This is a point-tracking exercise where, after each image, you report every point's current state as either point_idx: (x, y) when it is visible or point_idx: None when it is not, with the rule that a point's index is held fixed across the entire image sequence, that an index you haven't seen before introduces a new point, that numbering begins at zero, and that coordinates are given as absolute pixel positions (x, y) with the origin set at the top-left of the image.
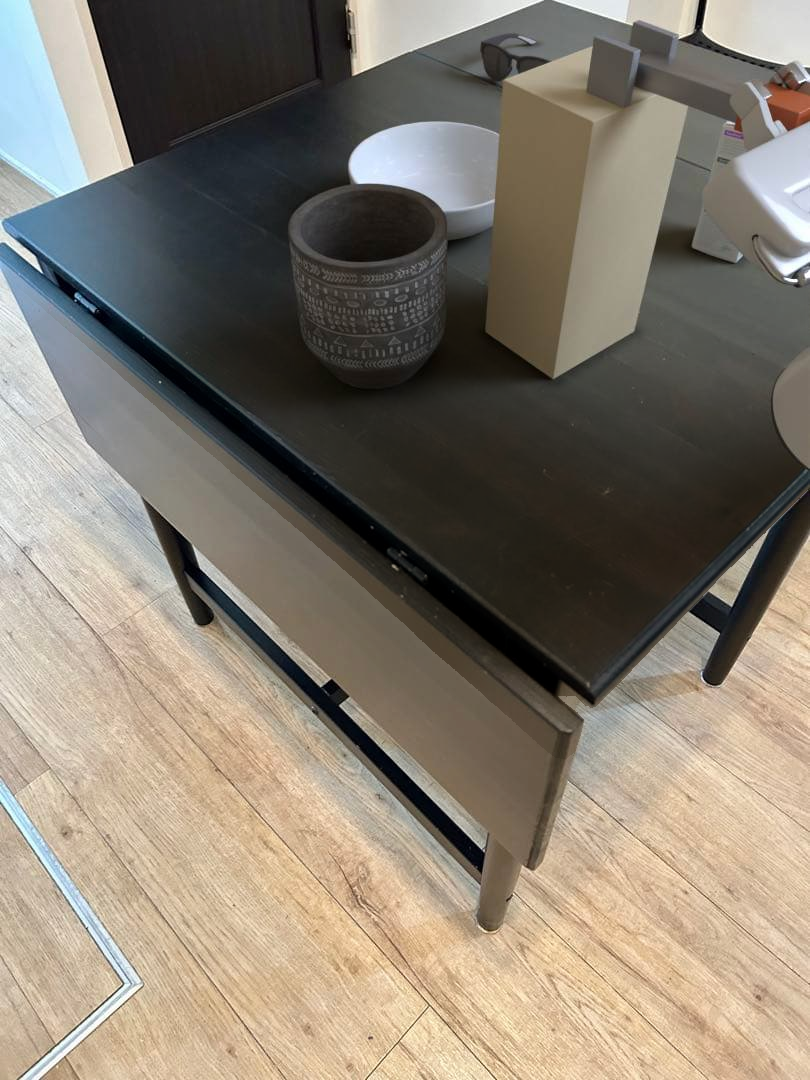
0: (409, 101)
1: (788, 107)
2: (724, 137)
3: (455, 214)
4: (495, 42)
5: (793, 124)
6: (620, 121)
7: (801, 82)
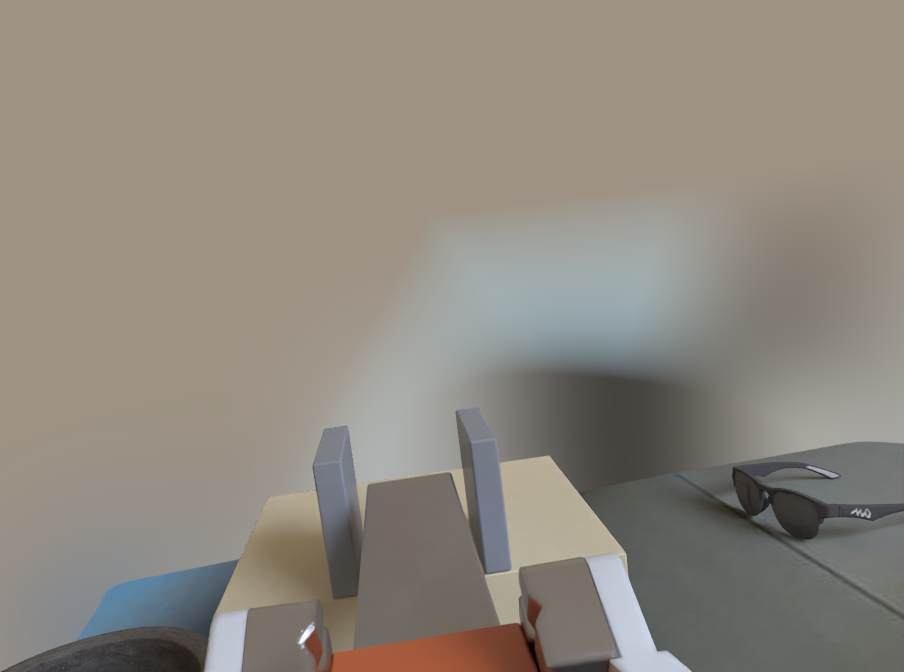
0: (618, 523)
1: None
2: None
3: None
4: (762, 469)
5: None
6: (334, 631)
7: (573, 664)
